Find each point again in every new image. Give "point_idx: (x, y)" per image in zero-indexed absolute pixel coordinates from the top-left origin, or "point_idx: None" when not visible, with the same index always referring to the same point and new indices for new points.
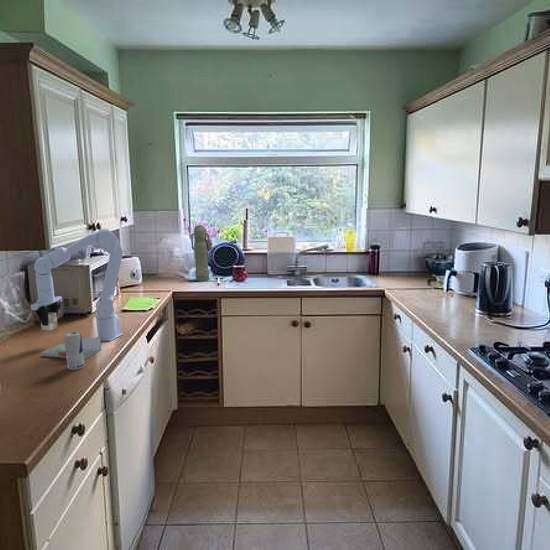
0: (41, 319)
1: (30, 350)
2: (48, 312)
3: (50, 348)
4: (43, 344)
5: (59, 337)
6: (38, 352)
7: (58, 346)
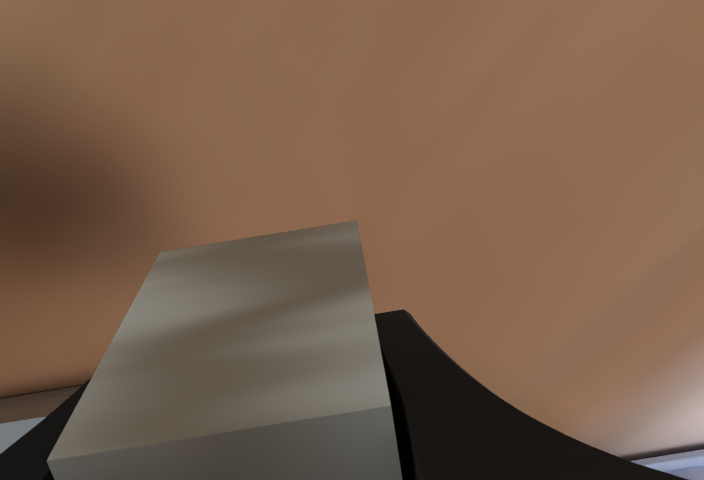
0: None
1: (41, 106)
2: (368, 462)
3: None
4: (284, 58)
5: (597, 10)
6: (52, 263)
7: None
